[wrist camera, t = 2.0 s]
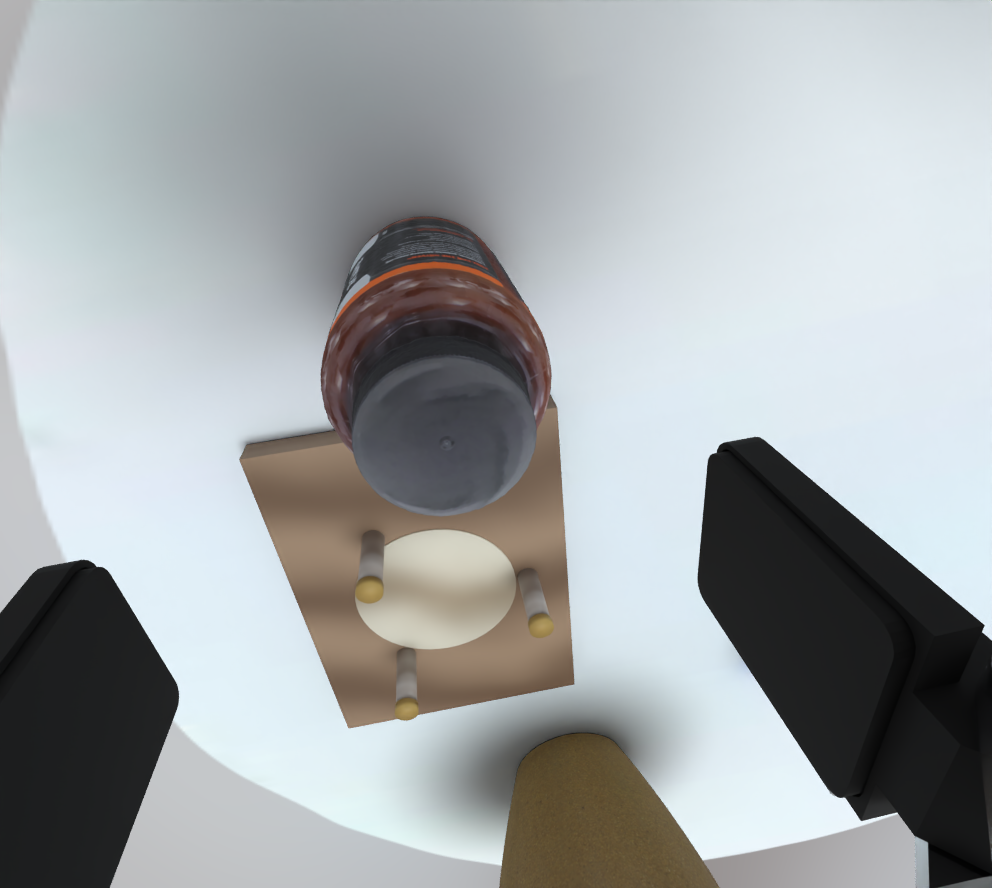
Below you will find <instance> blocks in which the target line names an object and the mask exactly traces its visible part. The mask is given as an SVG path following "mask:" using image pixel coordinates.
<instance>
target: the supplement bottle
mask: <svg viewBox="0 0 992 888" xmlns="http://www.w3.org/2000/svg"><path fill="white" fill-rule="evenodd" d="M550 390H551V365H550V359H549V355H548V351H547V347H546V343H545V340H544V337H543V334H542V332H541V330H540V328H539V326H538V324H537V323H536V321H535V319H534V317H533V316H532V314H531V312H530V310H529V308H528V307H527V306H526V304H525V303H524V301H523V300H522V298H521V296H520V294H519V293H518V291H517V290H516V288H515V286H514V285H513V283H512V282H511V280H510V278H509V277H508V275H507V274H506V272H505V270H504V269H503V267H502V266H501V264H500V263H499V261H498V259H497V258H496V256H495V255H494V254H493V252H492V251H491V250H490V249H489V248H488V247H487V246H486V244H485V243H484V242H483V241H482V240H481V239H480V238H479V237H478V236H476V235H475V234H474V233H473V232H471V231H470V230H469V229H467V228H466V227H464V226H462V225H460V224H458V223H455V222H452V221H449V220H445V219H442V218H436V217H414V218H408V219H403V220H400V221H398V222H395V223H393V224H391V225H388V226H387V227H385V228H384V229H382V230H381V231H379V232H378V233H377V234H376V235H374V236H373V237H372V238H371V239H370V240H369V241H368V242H367V243H366V244H365V245H364V247H363V248H362V250H361V251H360V252H359V254H358V256H357V257H356V259H355V261H354V263H353V265H352V267H351V270H350V272H349V274H348V278H347V280H346V283H345V287H344V290H343V293H342V297H341V300H340V303H339V305H338V308H337V311H336V314H335V317H334V320H333V323H332V326H331V328H330V332H329V335H328V339H327V342H326V346H325V350H324V354H323V360H322V368H321V391H322V395H323V401H324V407H325V410H326V413H327V415H328V419H329V421H330V423H331V424H332V425H333V427H334V429H335V431H336V433H337V434H338V436H339V437H340V438H341V440H342V441H343V443H344V444H345V446H346V447H347V448H348V449H349V450H350V451H351V452H352V453H353V454H354V458H355V461H356V464H357V466H358V468H359V470H360V472H361V474H362V476H363V477H364V479H365V480H366V481H367V483H368V484H369V485H370V486H371V487H372V489H373V490H374V491H375V492H376V493H377V494H378V495H380V496H381V497H382V498H384V499H385V500H387V501H388V502H390V503H392V504H394V505H396V506H398V507H400V508H403V509H406V510H407V511H410V512H413V513H417V514H423V515H431V516H440V517H442V516H451V515H457V514H462V513H467V512H471V511H473V510H479V509H481V508H483V507H484V506H486V505H488V504H490V503H492V502H495V501H496V500H498V499H499V498H501V497H502V496H504V495H505V494H506V493H507V492H508V491H509V490H510V489H511V488H512V487H513V486H514V485H515V484H516V483H517V482H518V481H519V480H520V478H521V477H522V475H523V474H524V472H525V471H526V470H527V468H528V466H529V463H530V461H531V458H532V455H533V453H534V450H535V444H536V437H537V433H536V431H537V429H538V427H539V425H540V423H541V421H542V420H543V417H544V415H545V411H546V409H547V405H548V401H549V396H550Z"/></svg>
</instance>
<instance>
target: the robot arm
mask: <svg viewBox="0 0 992 888" xmlns="http://www.w3.org/2000/svg"><path fill="white" fill-rule="evenodd" d="M698 586H699V590H700V593H701V595H702V598H703V599H704V601H705V603H706V604H707V606H708V607H709V609H710V610H711V612H712V613H713V615H714V616H715V618H716V620H717V621H718V623H719V624H720V626H721V627H722V629H723V630H724V632H725V633H726V635H727V636H728V638H729V639H730V641H731V642H732V644H733V645H734V647H735V648H736V650H737V652H738V653H739V655H740V656H741V658H742V659H743V661H744V662H745V664H746V665H747V667H748V668H749V670H750V671H751V673H752V674H753V676H754V677H755V679H756V680H757V682H758V684H759V685H760V687H761V688H762V690H763V691H764V693H765V694H766V696H767V697H768V699H769V700H770V702H771V703H772V705H773V706H774V708H775V709H776V711H777V712H778V714H779V715H780V717H781V719H782V720H783V722H784V723H785V725H786V726H787V728H788V729H789V731H790V732H791V734H792V735H793V737H794V738H795V740H796V741H797V743H798V744H799V746H800V747H801V749H802V751H803V752H804V754H805V755H806V757H807V758H808V760H809V761H810V763H811V764H812V766H813V767H814V769H815V770H816V772H817V773H818V775H819V776H820V778H821V779H822V781H823V783H824V784H825V785H826V787H827V788H828V789H829V790H830V791H831V792H832V793H833V794H834V795H835V796H837V797H839V798H843V797H845V798H846V799H847V801H848V802H849V804H850V805H851V807H852V808H853V810H854V811H855V813H856V814H857V816H858V817H859V819H860V820H861V821H863V820H867V819H872V818H876V817H880V816H884V815H888V814H892V813H896V812H897V813H898V814H899V815H900V817H901V818H902V819H903V821H904V822H905V823H906V825H907V826H908V828H909V829H910V830H911V832H912V833H913V834H914V836H915V866H916V867H915V869H916V870H915V873H916V888H992V640H990V639H989V638H988V637H987V636H986V635H985V634H983V633H982V630H983V628H984V626H985V625H984V624H982V623H981V622H980V621H979V620H978V619H976V618H975V617H974V616H973V615H972V614H970V613H969V612H968V611H967V610H966V609H965V608H963V607H962V606H961V605H960V604H959V603H957V602H956V601H955V600H954V599H953V598H951V597H950V596H949V595H948V594H947V593H945V592H944V591H943V590H942V589H941V588H940V587H938V586H937V585H936V584H935V583H934V582H932V581H931V580H930V579H929V578H928V577H926V576H925V575H924V574H923V573H922V572H920V571H919V570H918V569H917V568H916V567H915V566H913V565H912V564H911V563H910V562H909V561H907V560H906V559H905V558H904V557H903V556H901V555H900V554H899V553H898V552H897V551H895V550H894V549H893V548H892V547H891V546H890V545H888V544H887V543H886V542H885V541H884V540H882V539H881V538H880V537H879V536H878V535H876V534H875V533H874V532H873V531H872V530H870V529H869V528H868V527H867V526H866V525H865V524H863V523H862V522H861V521H860V520H859V519H857V518H856V517H855V516H854V515H853V514H851V513H850V512H849V511H848V510H847V509H845V508H844V507H843V506H842V505H841V504H840V503H838V502H837V501H836V500H835V499H834V498H832V497H831V496H830V495H829V494H828V493H826V492H825V491H824V490H823V489H822V488H821V487H819V486H818V485H817V484H816V483H815V482H813V481H812V480H811V479H810V478H809V477H807V476H806V475H805V474H804V473H803V472H801V471H800V470H799V469H798V468H797V467H796V466H794V465H793V464H792V463H791V462H790V461H788V460H787V459H786V458H785V457H784V456H782V455H781V454H780V453H779V452H778V451H776V450H775V449H774V448H773V447H772V446H771V445H769V444H768V443H767V442H766V441H765V440H763V439H761V438H760V437H752V438H747V439H741V440H736V441H730V442H725V443H722V444H721V445H720V446H719V448H718V449H717V453H715V454H712V455H710V457H709V459H708V465H707V477H706V488H705V499H704V510H703V522H702V533H701V544H700V556H699V567H698ZM178 702H179V691H178V686H177V684H176V682H175V680H174V678H173V677H172V675H171V673H170V672H169V670H168V668H167V667H166V665H165V663H164V662H163V660H162V659H161V657H160V655H159V654H158V652H157V650H156V649H155V647H154V645H153V644H152V642H151V640H150V639H149V637H148V635H147V634H146V632H145V631H144V629H143V627H142V626H141V624H140V622H139V621H138V619H137V617H136V616H135V614H134V612H133V611H132V609H131V607H130V606H129V604H128V603H127V601H126V599H125V598H124V596H123V594H122V593H121V591H120V589H119V588H118V586H117V584H116V583H115V581H114V579H113V578H112V576H111V575H110V573H109V572H108V571H107V570H106V569H105V568H103V567H96V566H95V564H94V563H92V562H90V561H88V560H79V561H73V562H68V563H63V564H57V565H51V566H46V567H43V568H40V569H37V570H36V571H35V572H34V573H33V574H32V575H31V576H30V577H29V579H28V580H27V581H26V582H25V584H24V585H23V586H22V587H21V589H20V590H19V591H18V592H17V594H16V595H15V596H14V597H13V598H12V599H11V601H10V602H9V603H8V604H7V606H6V607H5V608H4V609H3V610H2V612H1V613H0V888H110V885H111V883H112V880H113V877H114V875H115V872H116V869H117V867H118V864H119V862H120V859H121V856H122V854H123V851H124V848H125V846H126V843H127V840H128V838H129V835H130V832H131V829H132V827H133V824H134V822H135V819H136V816H137V814H138V811H139V808H140V806H141V803H142V800H143V798H144V795H145V793H146V790H147V787H148V785H149V782H150V779H151V777H152V774H153V771H154V769H155V766H156V763H157V761H158V758H159V755H160V753H161V750H162V747H163V745H164V742H165V739H166V737H167V734H168V732H169V729H170V726H171V724H172V721H173V718H174V716H175V713H176V710H177V707H178Z"/></svg>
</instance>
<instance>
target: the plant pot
mask: <svg viewBox="0 0 992 888" xmlns="http://www.w3.org/2000/svg"><path fill="white" fill-rule="evenodd" d="M499 888H720V887H719V886H718V884H717V883H716V881H715V879H714V878H713V876H712V875H711V873H710V871H709V870H708V868H707V867H706V865H705V864H704V862H703V861H702V859H701V857H700V856H699V854H698V853H697V851H696V850H695V848H694V847H693V845H692V844H691V842H690V841H689V839H688V838H687V836H686V835H685V833H684V832H683V830H682V829H681V828H680V826H679V825H678V823H677V822H676V820H675V819H674V818H673V816H672V815H671V813H670V812H669V810H668V809H667V808H666V806H665V805H664V803H663V802H662V801H661V799H660V798H659V797H658V795H657V794H656V793H655V791H654V790H653V789H652V787H651V786H650V785H649V784H648V782H647V781H646V780H645V778H644V777H643V776H642V775H641V773H640V772H639V771H638V769H637V768H636V767H635V766H634V764H633V763H632V762H631V761H630V760H629V758H628V757H627V756H626V755H625V754H624V752H623V751H622V750H621V749H620V748H619V746H618V745H617V744H616V743H615V742H614V741H612V740H611V739H609V738H607V737H604V736H601V735H598V734H590V733H576V734H569V735H564V736H560V737H557V738H554V739H552V740H549V741H547V742H545V743H543V744H541V745H539V746H538V747H536V748H535V749H533V750H532V751H531V752H530V753H529V754H527V755H526V757H525V758H524V759H523V760H522V762H521V764H520V766H519V768H518V771H517V775H516V780H515V785H514V790H513V796H512V801H511V807H510V812H509V819H508V825H507V831H506V838H505V845H504V852H503V860H502V869H501V877H500V887H499Z"/></svg>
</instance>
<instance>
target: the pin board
mask: <svg viewBox="0 0 992 888" xmlns="http://www.w3.org/2000/svg"><path fill="white" fill-rule="evenodd" d="M536 433H537V437H536V444H535V450H534V453H533V455H532V458H531V461H530V463H529V466H528V468H527V470H526V471H525V472H524V474H523V475H522V477H521V478H520V480H519V481H518V482H517V483H516V484H515V485H514V486H513V487H512V488H511V489H510V490H509V491H508V492H507V493H506V494H505V495H504V496H502V497H501V498H499V499H498V500H496V501H495V502H492V503H490V504H488V505H486V506H484V507H483V508H481V509H479V510H473V511H471V512H467V513H462V514H457V515H451V516H442V517H440V516H431V515H423V514H417V513H413V512H410V511H407V510H406V509H403V508H400V507H398V506H396V505H394V504H392V503H390V502H388V501H387V500H385V499H384V498H382V497H381V496H380V495H378V494H377V493H376V492H375V491H374V490H373V489H372V487H371V486H370V485H369V484H368V483H367V481H366V480H365V479H364V477H363V476H362V474H361V472H360V470H359V468H358V466H357V464H356V461H355V458H354V454H353V453H352V452H351V451H350V450H349V449H348V448H347V447H346V446H345V444H344V443H343V441H342V440H341V438H340V437H339V436H338V434H337V433H336V431H329V432H323V433H316V434H310V435H304V436H298V437H292V438H286V439H280V440H273V441H267V442H261V443H255V444H249V445H246V447H245V449H244V451H243V453H242V455H241V457H240V459H239V460H240V463H241V465H242V468H243V470H244V472H245V475H246V477H247V480H248V482H249V485H250V487H251V490H252V492H253V495H254V497H255V500H256V502H257V504H258V507H259V509H260V512H261V514H262V517H263V519H264V522H265V524H266V527H267V529H268V531H269V534H270V536H271V539H272V541H273V544H274V546H275V549H276V551H277V554H278V556H279V558H280V561H281V563H282V566H283V568H284V571H285V573H286V576H287V578H288V581H289V583H290V586H291V588H292V590H293V593H294V595H295V598H296V600H297V603H298V605H299V608H300V610H301V613H302V615H303V617H304V620H305V622H306V625H307V627H308V630H309V632H310V635H311V637H312V640H313V642H314V644H315V647H316V649H317V652H318V654H319V657H320V659H321V662H322V664H323V667H324V669H325V671H326V674H327V676H328V679H329V681H330V684H331V686H332V689H333V691H334V694H335V696H336V699H337V701H338V703H339V706H340V708H341V711H342V713H343V716H344V718H345V721H346V723H347V726H348V728H354V727H359V726H364V725H369V724H374V723H379V722H384V721H389V720H395V719H400V720H411V719H413V718H415V717H416V716H417V715H420V714H425V713H430V712H435V711H440V710H446V709H451V708H456V707H461V706H466V705H471V704H476V703H481V702H486V701H491V700H497V699H502V698H507V697H512V696H517V695H522V694H527V693H532V692H537V691H542V690H548V689H553V688H558V687H563V686H568V685H573V684H574V671H573V655H572V639H571V623H570V607H569V591H568V575H567V559H566V543H565V526H564V510H563V494H562V478H561V462H560V446H559V430H558V414H557V406H556V404H555V403H554V401H553V399H552V397H551V395H550V396H549V401H548V405H547V409H546V411H545V415H544V417H543V420H542V421H541V423H540V425H539V427H538V429H537V431H536Z"/></svg>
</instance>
